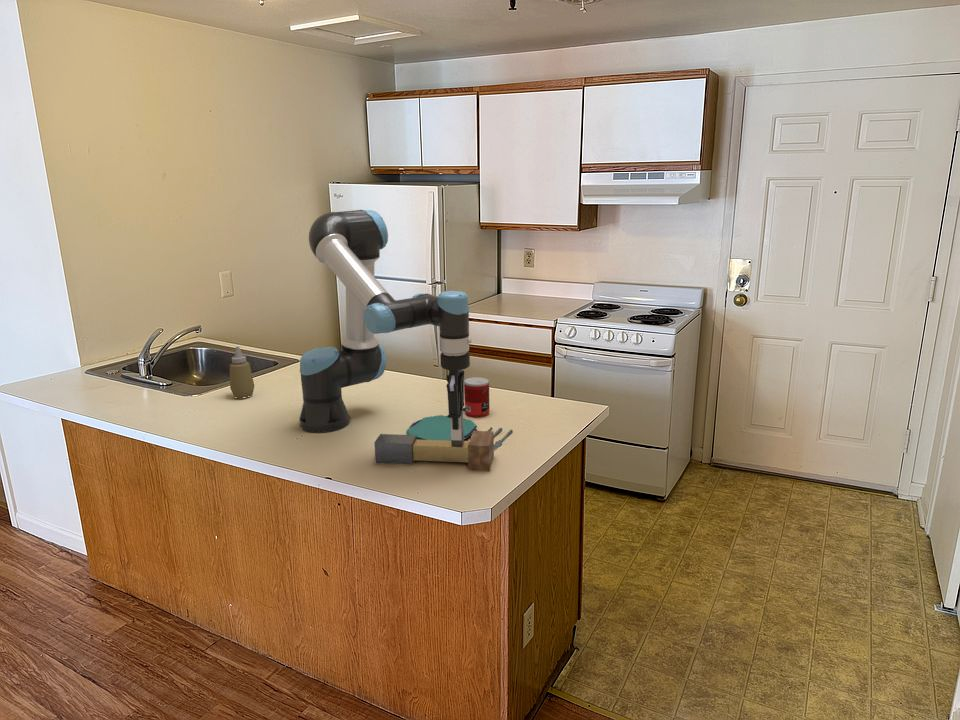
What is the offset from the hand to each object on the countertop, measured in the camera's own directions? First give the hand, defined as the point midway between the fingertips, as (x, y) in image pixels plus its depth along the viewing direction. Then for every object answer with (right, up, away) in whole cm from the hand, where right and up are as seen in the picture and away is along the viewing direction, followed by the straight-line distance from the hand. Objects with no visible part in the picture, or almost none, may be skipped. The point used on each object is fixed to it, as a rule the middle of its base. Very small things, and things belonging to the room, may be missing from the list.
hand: (457, 437), depth 181 cm
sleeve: (-17, -6, +4) cm, 18 cm away
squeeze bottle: (-77, +7, +58) cm, 96 cm away
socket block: (+6, -7, +1) cm, 9 cm away
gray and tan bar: (-5, -7, +3) cm, 9 cm away
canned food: (+5, +3, +37) cm, 38 cm away
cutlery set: (-1, -2, +20) cm, 20 cm away
